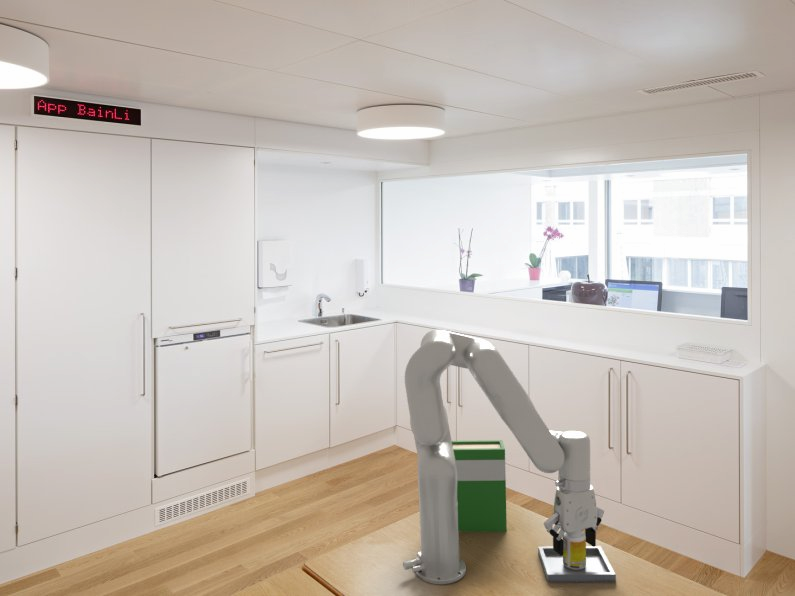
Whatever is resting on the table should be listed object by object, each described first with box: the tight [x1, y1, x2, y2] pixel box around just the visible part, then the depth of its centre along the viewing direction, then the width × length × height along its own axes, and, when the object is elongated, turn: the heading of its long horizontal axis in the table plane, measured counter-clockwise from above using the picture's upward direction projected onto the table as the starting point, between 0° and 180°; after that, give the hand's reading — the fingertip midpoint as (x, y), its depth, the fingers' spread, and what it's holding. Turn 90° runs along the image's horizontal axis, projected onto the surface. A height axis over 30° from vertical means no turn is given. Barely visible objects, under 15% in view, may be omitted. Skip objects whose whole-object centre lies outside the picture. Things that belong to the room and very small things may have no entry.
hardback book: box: [451, 439, 508, 533], centre depth 170 cm, size 18×7×24 cm, turn 86°
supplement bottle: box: [562, 529, 587, 570], centre depth 147 cm, size 6×6×10 cm
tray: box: [537, 545, 617, 583], centre depth 148 cm, size 16×13×2 cm
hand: (574, 548), depth 147 cm, fingers open, 9 cm apart
